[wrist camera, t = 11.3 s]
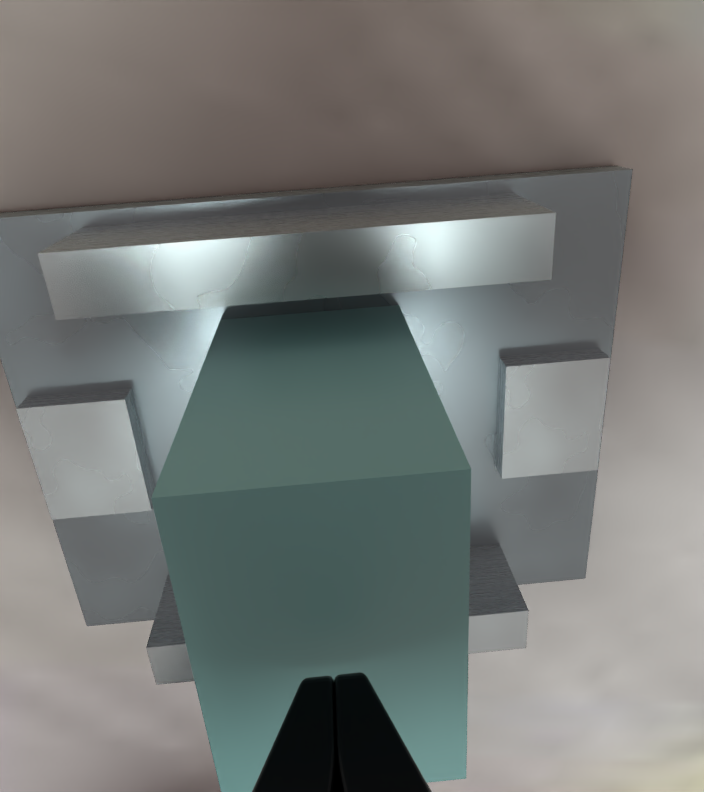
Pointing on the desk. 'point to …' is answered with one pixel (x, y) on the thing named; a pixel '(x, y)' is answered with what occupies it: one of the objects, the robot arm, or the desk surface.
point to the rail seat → (313, 292)
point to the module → (320, 533)
